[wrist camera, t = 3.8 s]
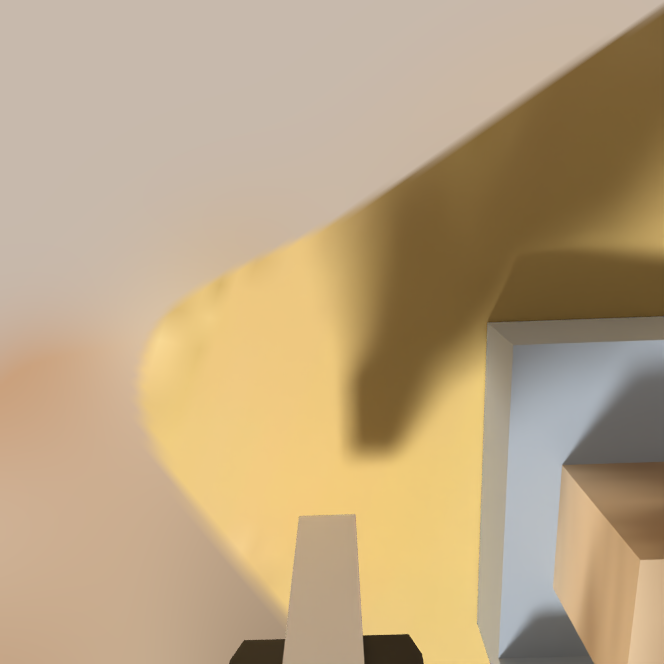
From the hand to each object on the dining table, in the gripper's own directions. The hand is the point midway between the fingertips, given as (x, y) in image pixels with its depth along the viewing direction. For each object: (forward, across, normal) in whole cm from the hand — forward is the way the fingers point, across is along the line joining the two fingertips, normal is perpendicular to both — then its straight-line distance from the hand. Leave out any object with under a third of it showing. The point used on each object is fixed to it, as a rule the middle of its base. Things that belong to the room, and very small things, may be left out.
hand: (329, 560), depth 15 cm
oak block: (+1, -8, 0) cm, 9 cm away
